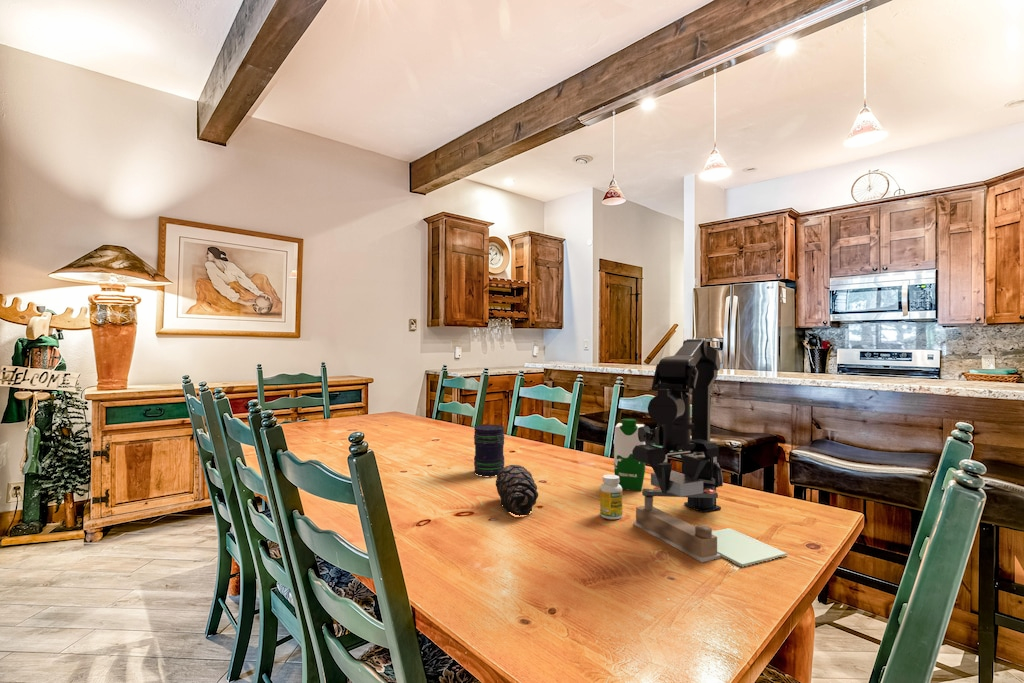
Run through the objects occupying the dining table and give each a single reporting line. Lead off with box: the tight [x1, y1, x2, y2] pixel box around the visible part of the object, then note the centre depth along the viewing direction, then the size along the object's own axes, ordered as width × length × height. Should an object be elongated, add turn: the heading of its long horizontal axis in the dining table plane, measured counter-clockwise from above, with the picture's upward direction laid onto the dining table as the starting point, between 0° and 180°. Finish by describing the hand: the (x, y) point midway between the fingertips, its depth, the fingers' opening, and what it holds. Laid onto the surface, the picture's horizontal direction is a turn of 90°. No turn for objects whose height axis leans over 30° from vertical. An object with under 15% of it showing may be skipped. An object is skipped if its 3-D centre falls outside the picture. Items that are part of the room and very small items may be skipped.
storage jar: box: [473, 424, 505, 476], centre depth 154 cm, size 10×10×15 cm
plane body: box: [632, 496, 722, 563], centre depth 101 cm, size 21×5×7 cm, turn 23°
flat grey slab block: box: [650, 469, 703, 498], centre depth 100 cm, size 6×9×2 cm, turn 23°
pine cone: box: [495, 464, 539, 516], centre depth 122 cm, size 10×18×10 cm, turn 18°
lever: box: [641, 488, 719, 499], centre depth 108 cm, size 16×3×2 cm, turn 84°
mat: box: [712, 527, 788, 568], centre depth 97 cm, size 12×14×1 cm
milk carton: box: [613, 418, 646, 492], centre depth 139 cm, size 9×9×20 cm
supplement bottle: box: [599, 474, 623, 520], centre depth 115 cm, size 5×5×10 cm
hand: (676, 491), depth 100 cm, fingers closed on flat grey slab block, 6 cm apart
